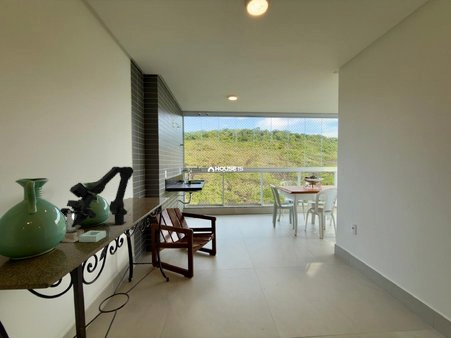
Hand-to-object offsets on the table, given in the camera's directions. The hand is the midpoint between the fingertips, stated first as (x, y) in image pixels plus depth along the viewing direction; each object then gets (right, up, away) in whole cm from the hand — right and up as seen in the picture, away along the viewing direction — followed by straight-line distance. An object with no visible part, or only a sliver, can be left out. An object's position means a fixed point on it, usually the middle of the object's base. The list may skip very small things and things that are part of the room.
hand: (69, 227), depth 116 cm
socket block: (+11, -7, +2) cm, 13 cm away
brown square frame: (0, -7, +2) cm, 7 cm away
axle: (0, -7, +2) cm, 7 cm away
